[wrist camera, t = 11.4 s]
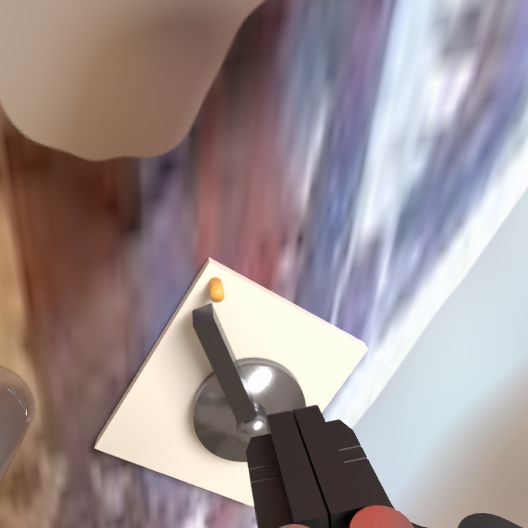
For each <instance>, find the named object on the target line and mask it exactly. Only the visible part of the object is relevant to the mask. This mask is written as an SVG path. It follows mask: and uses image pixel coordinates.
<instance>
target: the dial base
mask: <svg viewBox="0 0 528 528" xmlns="http://www.w3.org/2000/svg"><path fill="white" fill-rule="evenodd" d="M210 303H212V305H213V307H214V309H215V312H216V314H217V316H218V318H219V321H220V323H221V325H222V328H223V330H224V332H225V334H226V337H227V339H228V341H229V344H230V346H231V348H232V350H233V353H234V355H235V357H236V360H238V359H242V358H264V359H269V360H272V361H275V362H277V363H279V364H281V365H283V366H284V367H286V368H287V369H288V370H290V372H291V373H292V374H293V375H294V376H295V378H296V379H297V381H298V383H299V385H300V387H301V389H302V392H303V394H304V398H305V402H306V407H307V406H312V405H318V407H319V409H320V411H321V413H322V412H323V410H324V409H325V407H326V406H327V405H328V403H329V402H330V401H331V399H332V398H333V397H334V395H335V394H336V392H337V391H338V390H339V388H340V387H341V386H342V384H343V383H344V382H345V380H346V379H347V377H348V376H349V375H350V373H351V372H352V371H353V369H354V368H355V367H356V365H357V364H358V362H359V361H360V360H361V358H362V357H363V356H364V354H365V353H366V351H367V350H368V348H367V346H366V345H365V344H364V342H363V341H361V340H359V339H357V338H355V337H353V336H352V335H350V334H348V333H346V332H344V331H343V330H341V329H339V328H337V327H335V326H333V325H332V324H330V323H328V322H326V321H324V320H322V319H321V318H319V317H317V316H315V315H313V314H311V313H310V312H308V311H306V310H304V309H302V308H301V307H299V306H297V305H295V304H293V303H291V302H290V301H288V300H286V299H284V298H282V297H280V296H279V295H277V294H275V293H273V292H271V291H269V290H268V289H266V288H264V287H262V286H260V285H259V284H257V283H255V282H253V281H251V280H249V279H248V278H246V277H244V276H242V275H240V274H238V273H237V272H235V271H233V270H231V269H229V268H227V267H226V266H224V265H222V264H220V263H218V262H217V261H215V260H213V259H211V258H208V259H207V261H206V263H205V264H204V266H203V267H202V269H201V271H200V272H199V274H198V276H197V277H196V279H195V280H194V282H193V284H192V285H191V287H190V288H189V290H188V292H187V293H186V295H185V297H184V298H183V300H182V301H181V303H180V305H179V306H178V308H177V309H176V311H175V313H174V314H173V316H172V318H171V319H170V321H169V322H168V324H167V326H166V327H165V329H164V331H163V332H162V334H161V335H160V337H159V339H158V340H157V342H156V343H155V345H154V347H153V348H152V350H151V352H150V353H149V355H148V356H147V358H146V360H145V361H144V363H143V364H142V366H141V368H140V369H139V371H138V373H137V374H136V376H135V377H134V379H133V381H132V382H131V384H130V386H129V387H128V389H127V390H126V392H125V394H124V395H123V397H122V398H121V400H120V402H119V403H118V405H117V407H116V408H115V410H114V411H113V413H112V415H111V416H110V418H109V419H108V421H107V423H106V424H105V426H104V428H103V429H102V431H101V432H100V434H99V436H98V437H97V440H96V444H95V447H94V449H97V450H100V451H103V452H105V453H108V454H111V455H114V456H116V457H119V458H122V459H125V460H127V461H130V462H133V463H135V464H138V465H141V466H144V467H146V468H149V469H152V470H155V471H157V472H160V473H163V474H165V475H168V476H171V477H174V478H176V479H179V480H182V481H185V482H187V483H190V484H193V485H195V486H198V487H201V488H204V489H206V490H209V491H212V492H215V493H217V494H220V495H223V496H225V497H228V498H231V499H234V500H236V501H239V502H242V503H245V504H247V505H250V506H254V502H253V496H252V490H251V483H250V477H249V470H248V464H247V462H235V461H230V460H226V459H223V458H220V457H218V456H216V455H214V454H213V453H211V452H210V451H208V450H207V449H206V448H205V447H204V446H203V445H202V443H201V442H200V441H199V439H198V437H197V435H196V433H195V429H194V424H193V403H194V399H195V395H196V393H197V390H198V389H199V387H200V385H201V384H202V382H203V381H204V380H205V379H206V378H207V377H208V376H209V375H210V374H211V373H212V372H213V369H212V366H211V364H210V362H209V360H208V358H207V356H206V354H205V351H204V349H203V347H202V345H201V343H200V341H199V338H198V336H197V334H196V332H195V330H194V328H193V318H192V310H195V309H197V308H200V307H202V306H205V305H208V304H210Z"/></svg>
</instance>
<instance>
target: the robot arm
mask: <svg viewBox="0 0 528 528" xmlns="http://www.w3.org/2000/svg"><path fill="white" fill-rule="evenodd" d="M33 414H34V400H33V397H32V394H31V392H30V390H29V389H28V387H27V386H26V384H25V383H24V382H23V381H22V380H21V379H20V378H19V377H17V376H16V375H14V374H13V373H11V372H10V371H8V370H6V369H3V368H1V367H0V482H1V480H2V478H3V476H4V474H5V472H6V470H7V468H8V467H9V465H10V463H11V461H12V459H13V457H14V455H15V453H16V451H17V449H18V447H19V445H20V443H21V441H22V439H23V437H24V435H25V433H26V431H27V429H28V427H29V425H30V423H31V421H32V419H33ZM266 424H267V432H268V434H265V435H260V436H255V437H251V439H250V442H249V444H248V447H247V450H246V457H247V464H248V470H249V477H250V483H251V490H252V496H253V502H254V508H255V514H256V520H257V526H258V528H426V527H422V526H419V525H416V524H414V523H412V522H410V521H409V519H408V518H407V517H406V516H404V515H403V514H402V513H401V512H399V511H397V510H395V509H394V507H393V506H392V504H391V503H390V501H389V499H388V497H387V495H386V493H385V491H384V489H383V487H382V485H381V483H380V481H379V480H378V478H377V476H376V474H375V472H374V470H373V468H372V466H371V464H370V462H369V460H368V459H367V457H366V454H365V453H364V451H363V449H362V447H361V446H360V443H359V441H358V439H357V437H356V435H355V433H354V432H353V430H352V429H351V428H349V427H348V426H347V425H346V424H344V423H343V422H342V421H341V420H334V421H329V422H325V420H324V417H323V415H322V413H321V411H320V409H319V407H318V405H312V406H307V407H302V408H297V409H292V412H291V410H287V411H282V412H277V413H272V414H267V415H266ZM458 528H522V527H520V526H518V525H516V524H514V523H512V522H510V521H508V520H506V519H504V518H501V517H499V516H496V515H492V514H487V513H478V514H472V515H469V516H467V517H466V518H464V519H463V520H462V521H461V522H460V524H459V526H458Z"/></svg>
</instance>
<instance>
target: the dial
mask: <svg viewBox="0 0 528 528" xmlns="http://www.w3.org/2000/svg"><path fill="white" fill-rule="evenodd" d="M192 318H193V328H194V330H195V332H196V334H197V336H198V338H199V341H200V343H201V345H202V347H203V349H204V351H205V354H206V356H207V358H208V360H209V362H210V364H211V366H212V369H213V372H212V373H211V374H210V375H209V376H208V377H207V378H206V379H205V380H204V381H203V382H202V384H201V385H200V387H199V389H198V390H197V393H196V395H195V399H194V403H193V424H194V429H195V433H196V435H197V437H198V439H199V441H200V442H201V443H202V445H203V446H204V447H205V448H206V449H207V450H208V451H210V452H211V453H213V454H214V455H216V456H218V457H220V458H223V459H226V460H230V461H235V462H247V457H246V450H247V447H248V444H249V442H250V439H251V437H255V436H260V435H265V434H268V432H267V424H266V415H267V414H272V413H277V412H282V411H287V410H291V412H292V409H297V408H302V407H306V402H305V398H304V394H303V392H302V389H301V387H300V385H299V383H298V381H297V379H296V378H295V376H294V375H293V374H292V373H291V372H290V370H288V369H287V368H286V367H284V366H283V365H281V364H279V363H277V362H275V361H272V360H269V359H264V358H242V359H238V360H236V357H235V355H234V353H233V350H232V348H231V346H230V344H229V341H228V339H227V337H226V334H225V332H224V330H223V328H222V325H221V323H220V321H219V318H218V316H217V314H216V312H215V309H214V307H213V305H212V303H210V304H208V305H205V306H202V307H200V308H197V309H195V310H192Z"/></svg>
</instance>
